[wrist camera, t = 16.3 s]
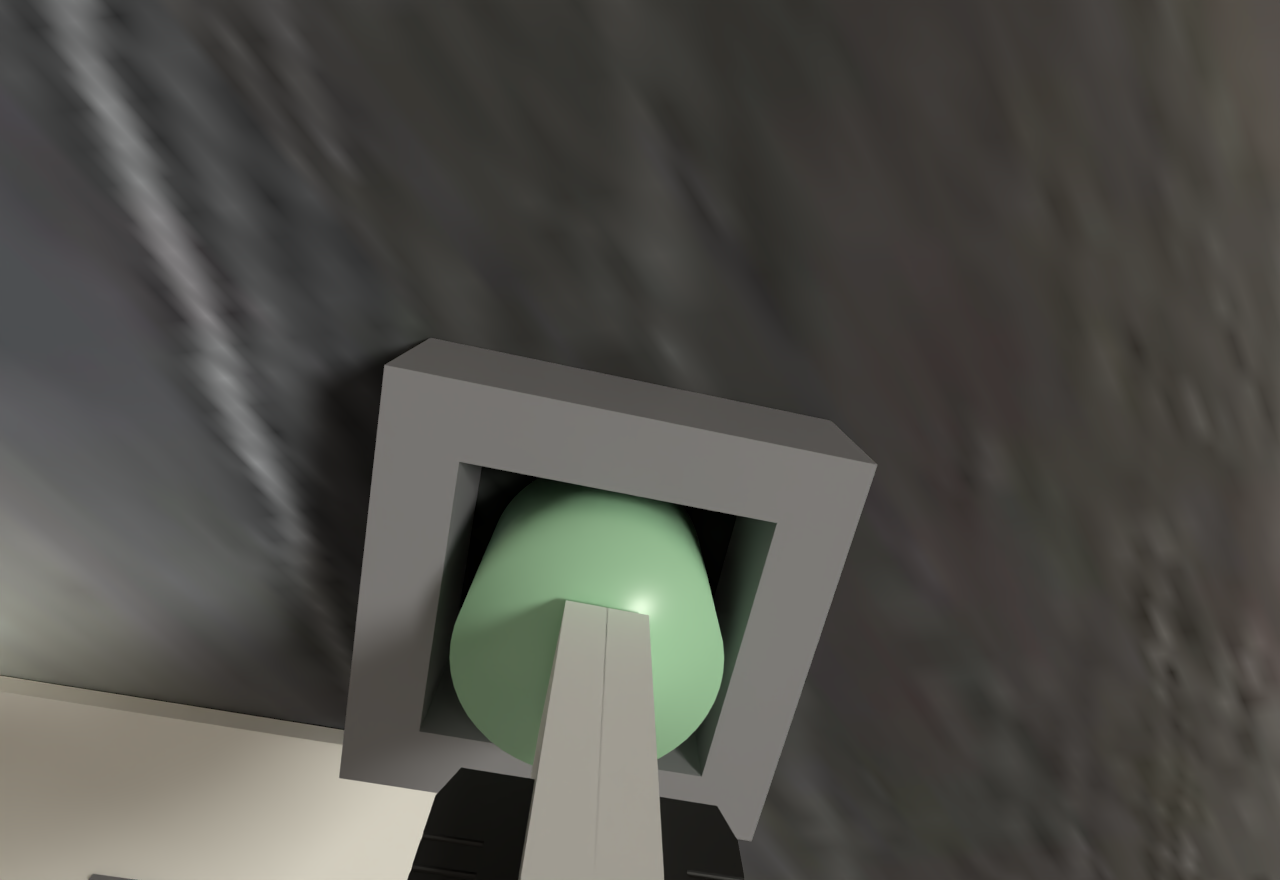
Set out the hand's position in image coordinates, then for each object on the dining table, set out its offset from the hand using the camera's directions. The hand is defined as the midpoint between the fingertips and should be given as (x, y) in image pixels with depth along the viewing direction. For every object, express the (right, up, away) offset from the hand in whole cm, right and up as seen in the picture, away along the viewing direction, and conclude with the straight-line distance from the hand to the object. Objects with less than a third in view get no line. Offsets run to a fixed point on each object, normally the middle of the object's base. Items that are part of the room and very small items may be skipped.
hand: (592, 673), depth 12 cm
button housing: (0, +1, +4) cm, 4 cm away
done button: (0, +1, +4) cm, 4 cm away
